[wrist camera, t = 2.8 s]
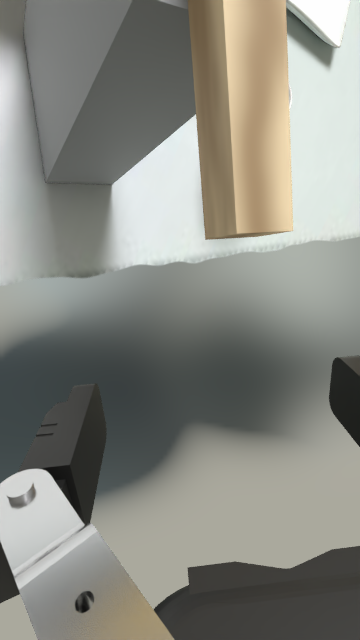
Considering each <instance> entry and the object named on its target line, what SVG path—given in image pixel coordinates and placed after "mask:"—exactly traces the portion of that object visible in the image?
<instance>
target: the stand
mask: <svg viewBox="0 0 360 640" xmlns="http://www.w3.org/2000/svg"><path fill="white" fill-rule="evenodd" d="M23 35H24V41H25V48H26V55H27V62H28V68H29V75H30V82H31V89H32V95H33V102H34V109H35V115H36V122H37V129H38V136H39V142H40V149H41V156H42V163H43V169H44V176H45V183H73V184H109V185H112V184H113V183H114V182H116V181H117V180H118V179H119V178H120V177H122V176H123V175H124V174H125V173H126V172H127V171H129V170H130V169H131V168H132V167H133V166H135V165H136V164H137V163H138V162H139V161H141V160H142V159H143V158H144V157H145V156H146V155H148V154H149V153H150V152H151V151H152V150H154V149H155V148H156V147H157V146H158V145H160V144H161V143H162V142H163V141H164V140H166V139H167V138H168V137H169V136H170V135H171V134H173V133H174V132H175V131H176V130H177V129H179V128H180V127H181V126H182V125H183V124H185V123H186V122H187V121H188V120H189V119H190V118H192V117H193V116H194V115H195V114H196V105H195V92H194V78H193V65H192V52H191V38H190V25H189V11H188V0H26V8H25V18H24V29H23Z"/></svg>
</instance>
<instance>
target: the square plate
mask: <svg viewBox="0 0 360 640" xmlns="http://www.w3.org/2000/svg"><path fill="white" fill-rule="evenodd" d="M349 5H350V0H286V7H287V8H288V9H289V10H290V11H291V12H292V13H293V14H295V15H296V16H297V17H298V18H299V19H300V20H301V21H302V22H303V23H305V24H306V25H307V26H308V27H309V28H310V29H311V30H312V31H313V32H314V33H315V34H316V35H317V36H319V37H320V38H321V39H322V40H323V41H325V42H326V43H328V44H329V45H331V46H334V47H335V48H339V47H340V46H341V42H342V38H343V33H344V29H345V24H346V19H347V15H348V10H349Z"/></svg>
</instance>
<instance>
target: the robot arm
mask: <svg viewBox="0 0 360 640" xmlns="http://www.w3.org/2000/svg"><path fill="white" fill-rule="evenodd" d="M329 394H330V395H329V402H330V406H331V409H332V411H333V414H334V415H335V416H336V418H337V419H338V420H339V422H340V423H341V424H342V425H343V426H344V428H345V429H346V430H347V431H348V433H349V434H350V435H351V437H352V438H353V439H354V440H355V442H356V443H357V444H358V445H359V447H360V356H359V355H357V356H348V357H337V358H335V359H334V361H333V364H332V373H331V383H330V393H329ZM105 443H106V421H105V416H104V411H103V406H102V401H101V396H100V391H99V387H98V385H97V384H96V383H95V384H86V385H76V386H73V388H72V390H71V392H70V395H69V397H68V400H67V402H60V403H57V404H56V405H55V406H54V407H53V408H52V409H51V410H50V411H49V412H47V413H46V416H45V418H44V420H43V422H42V424H41V427H40V428H39V430H38V432H37V434H36V437H35V438H34V440H33V442H32V444H31V446H30V449H29V451H28V453H27V455H26V457H25V459H24V461H23V463H22V465H21V467H20V469H19V471H18V473H16V474H14V475H12V476H11V477H9V478H7V479H6V480H5V481H3V482H2V483H1V484H0V603H2V602H3V601H6V600H8V599H10V598H12V597H14V596H16V595H19V594H20V595H21V597H22V600H23V602H24V605H25V607H26V610H27V613H28V615H29V618H30V621H31V623H32V626H33V628H34V631H35V634H36V636H37V639H38V640H360V546H356V547H349V548H340V549H334V550H330V551H328V552H326V553H324V554H321V555H319V556H317V557H315V558H313V559H311V560H308V561H306V562H304V563H302V564H300V565H298V566H295V567H293V568H290V569H282V568H275V567H267V566H261V565H254V564H247V563H241V562H229V563H221V564H214V565H205V566H197V567H189V568H188V577H189V585H188V586H186V587H184V588H182V589H180V590H178V591H176V592H175V593H173V594H171V595H170V596H168V597H167V598H166V599H165V600H163V601H162V602H161V603H160V604H158V606H157V607H156V608H155V609H154V610H153V608H152V607H151V606H150V604H149V603H148V601H147V600H146V599H145V597H144V596H143V594H142V593H141V592H140V590H139V589H138V587H137V586H136V584H135V583H134V582H133V580H132V579H131V577H130V576H129V574H128V573H127V572H126V570H125V569H124V567H123V566H122V565H121V563H120V562H119V560H118V559H117V557H116V556H115V555H114V553H113V552H112V550H111V549H110V548H109V546H108V545H107V543H106V542H105V541H104V539H103V538H102V536H101V535H100V533H99V532H98V531H97V529H96V528H95V527H94V526H93V525H92V524H91V523H90V520H91V515H92V510H93V505H94V499H95V494H96V489H97V484H98V479H99V474H100V468H101V464H102V458H103V453H104V448H105Z"/></svg>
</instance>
